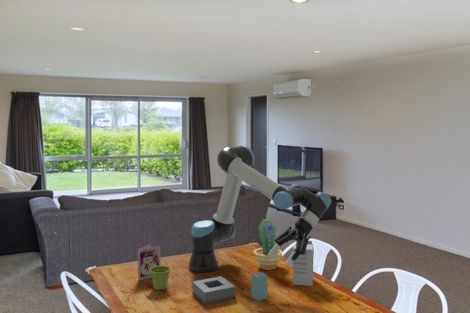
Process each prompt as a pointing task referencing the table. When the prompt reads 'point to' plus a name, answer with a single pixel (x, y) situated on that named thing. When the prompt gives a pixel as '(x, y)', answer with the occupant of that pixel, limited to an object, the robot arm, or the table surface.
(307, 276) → the supplement box
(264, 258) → the potted cactus
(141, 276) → the greeting card
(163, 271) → the plant pot
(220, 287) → the socket
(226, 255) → the table surface
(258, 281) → the peg
